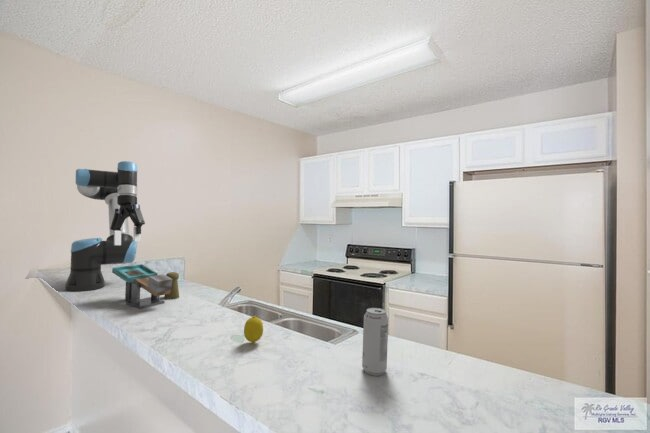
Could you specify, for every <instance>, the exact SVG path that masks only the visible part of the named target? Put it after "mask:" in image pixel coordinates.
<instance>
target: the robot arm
mask: <svg viewBox="0 0 650 433" xmlns="http://www.w3.org/2000/svg"><path fill="white" fill-rule="evenodd" d="M75 186H76V189H77V191H78V193H80V194H81V195H82V196H84V197H85V198H89V199H93V200H99V201H104V202H105V204H106V205H108V206H107V207H108V226H109V227H108V228H109V235H108V236H107V237H106V240H103V239H102V238H101V237H92V238H91V237H90V238H85V239H78V240H75V241H73V242H72V243H71V247H70V273H69V275H68V277H67V280H66V282H65V285H64V286H65V287H64V290H65V291H67V292H68V291H69V292H82V291H84V292H85V291H93V290H94V291H95V290H98V289H102V288H104V287H105V284H106V281H105V278H104V276H103V273H102V266H103V265H104V266H105V265H118V264H119V265H120V264H123V265H125V264H131V263H134V261H135V259H136V254H137V247H138V243H141V242H142V238H141V237H142V235H141V234H142V226H143V225H145V224H146V222H145V219H144V217H143V214H142V210H141V205H140V204H138V197H137V196H138V165H137V163H135V162H133V161H130V160H129V161H127V160H123V161H119V162H118V163H117V171H109V170H96V169H88V168H77V169H76V170H75ZM129 218H130V220H131V222H132V223H133V236H132V234H130V227H129Z"/></svg>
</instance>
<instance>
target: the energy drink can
mask: <svg viewBox="0 0 650 433" xmlns="http://www.w3.org/2000/svg"><path fill="white" fill-rule="evenodd" d="M365 311H366V312H365V314H364V315H363V328H362V329H363V330H362V332H363V333H362V357H361V358H362V361H361V362H362V363H361V366H362V369H364V372H365V373H366V374H368V375H370V376H374V377H377V376H378V377H379V376H380V377H381V376H383V375H384V374H385V372H386V371H387V369H388V367H387V366H388V342H389V341H388V340H389V338H388V337H389V336H388V335H389V317H388V315H387V310H385V309H384V308H379V307H368V308H367V309H366V310H365Z"/></svg>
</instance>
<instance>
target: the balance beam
mask: <svg viewBox="0 0 650 433" xmlns="http://www.w3.org/2000/svg"><path fill="white" fill-rule="evenodd" d="M111 273H113V274H114V275H115V276H116V277H119V278H120V279H122V280H123V281H124V282H125V283H126V282H134V283H139V284H140V289H141V288H142V289H143V290H145V291H146V292H148V293H150V295H151V294H152V295H154V296H155V297H156V296H165V294H170V292H171V286H172V280H173V279H171V278H170V277H168V276H166V275H167V274H158V272H156V271H155V270H152V269H151V268H149V267H148V266H146V265H143V264H134V265H124V266H115V267H112V270H111Z"/></svg>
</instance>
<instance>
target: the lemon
mask: <svg viewBox="0 0 650 433" xmlns="http://www.w3.org/2000/svg"><path fill="white" fill-rule="evenodd" d="M263 324H264V323H263V322H262V320H261V319H260V318H259V317H257V316H256V315H253V316H252V317H249V318H248V319H247V320H246V321H245V323H244V326H243V334H244V335H243V336H244V338H245V339H246V341H248V342H250V343H251V344H255V343H256V342H258V341H259V340H260V339H261V338H262V337H263V334H264V325H263Z"/></svg>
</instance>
